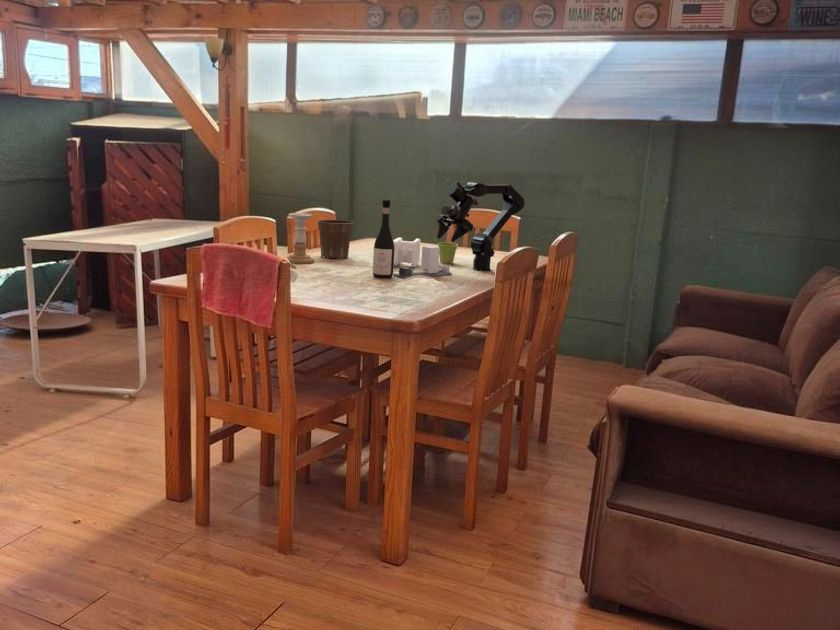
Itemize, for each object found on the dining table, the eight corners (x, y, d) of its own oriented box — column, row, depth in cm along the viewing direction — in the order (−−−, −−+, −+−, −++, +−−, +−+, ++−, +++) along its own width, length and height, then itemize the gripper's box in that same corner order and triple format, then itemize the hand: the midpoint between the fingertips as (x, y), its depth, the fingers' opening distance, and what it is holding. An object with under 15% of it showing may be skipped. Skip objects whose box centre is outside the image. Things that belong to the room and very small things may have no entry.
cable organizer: (414, 269, 307) (416, 242, 304) (390, 267, 308) (391, 240, 306) (419, 264, 321) (421, 238, 319) (396, 262, 323) (397, 236, 320)
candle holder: (290, 258, 315) (291, 212, 311) (317, 260, 314) (319, 214, 309) (281, 262, 303) (282, 214, 299) (309, 264, 302) (310, 216, 297)
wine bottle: (390, 279, 280) (394, 201, 273) (370, 277, 281) (373, 199, 274) (394, 276, 287) (398, 200, 281) (375, 274, 289) (379, 198, 282)
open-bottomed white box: (429, 270, 298) (431, 245, 296) (438, 272, 295) (439, 247, 293) (420, 271, 295) (422, 246, 293) (429, 273, 292) (430, 248, 289)
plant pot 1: (308, 255, 326) (309, 219, 322) (334, 253, 338) (336, 218, 334) (333, 260, 316) (334, 224, 312) (359, 258, 328) (361, 222, 324)
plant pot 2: (460, 263, 331) (461, 244, 329) (450, 265, 324) (451, 246, 322) (443, 260, 336) (444, 242, 334) (432, 262, 328) (433, 243, 326)
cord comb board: (438, 271, 304) (438, 262, 303) (451, 274, 298) (452, 265, 298) (393, 275, 287) (393, 266, 286) (406, 279, 282) (407, 269, 281)
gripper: (437, 195, 305) (419, 226, 303) (465, 199, 291) (446, 232, 289) (453, 210, 312) (435, 240, 310) (481, 215, 298) (463, 247, 295)
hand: (444, 240), depth 301 cm, fingers open, 9 cm apart
